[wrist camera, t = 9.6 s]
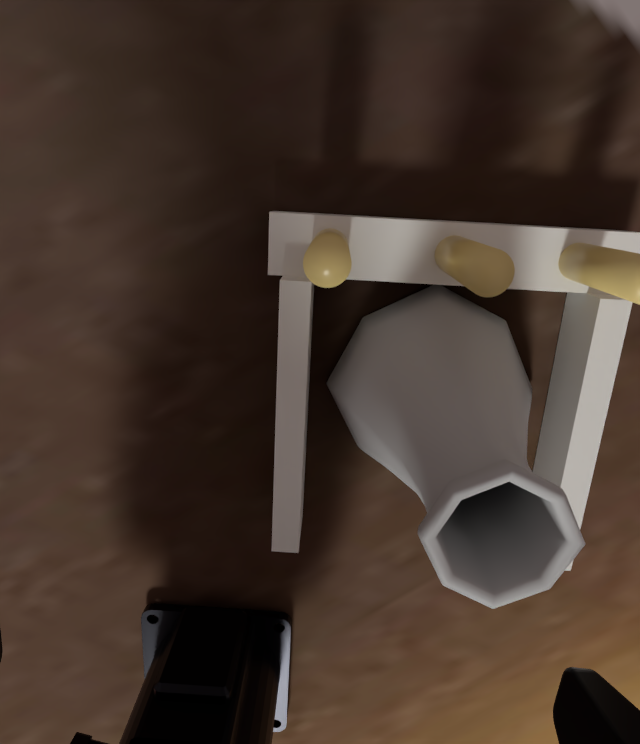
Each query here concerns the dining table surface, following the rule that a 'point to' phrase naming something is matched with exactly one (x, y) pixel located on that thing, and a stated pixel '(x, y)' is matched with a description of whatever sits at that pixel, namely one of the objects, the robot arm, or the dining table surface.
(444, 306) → the flask
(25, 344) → the dining table surface
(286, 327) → the wall peg rack
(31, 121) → the dining table surface
